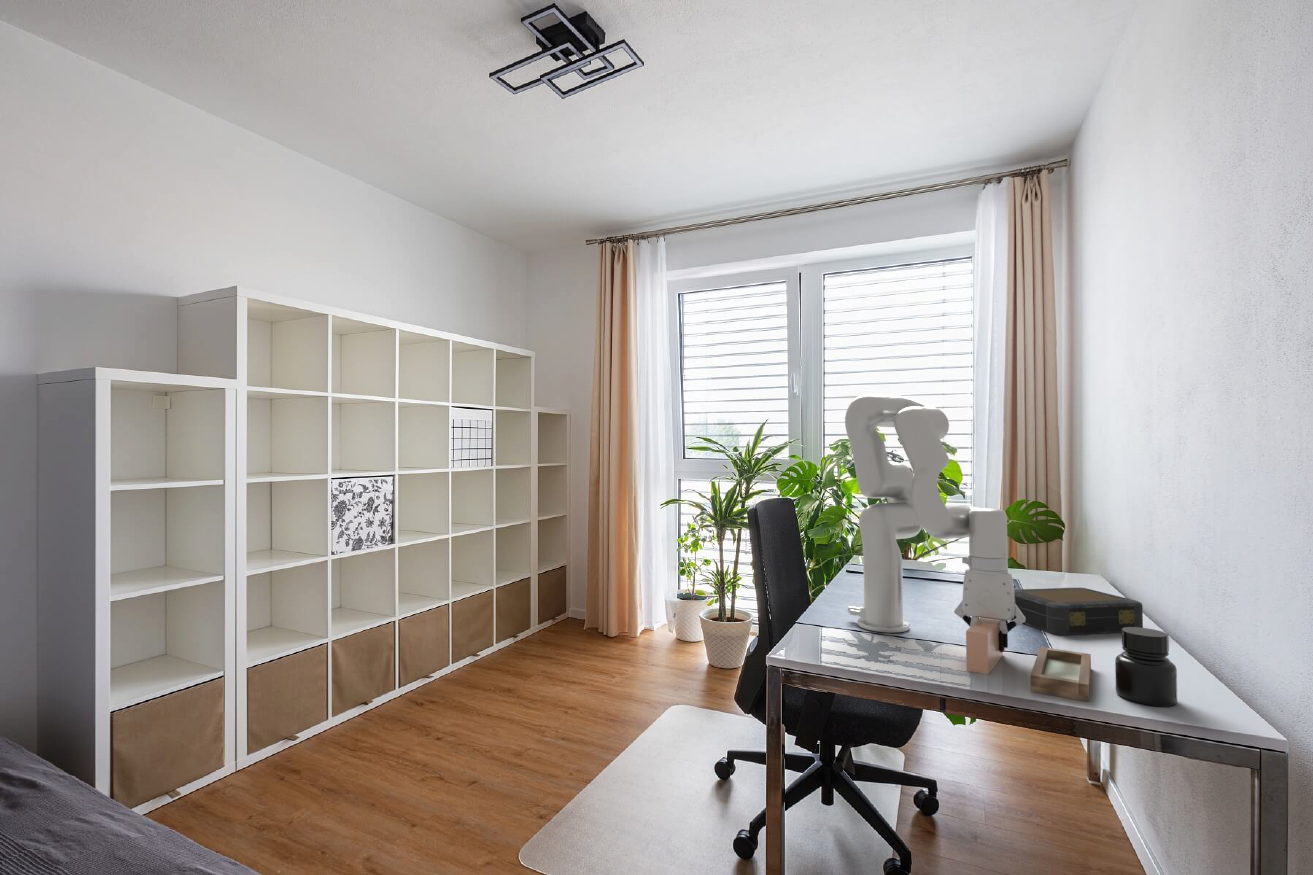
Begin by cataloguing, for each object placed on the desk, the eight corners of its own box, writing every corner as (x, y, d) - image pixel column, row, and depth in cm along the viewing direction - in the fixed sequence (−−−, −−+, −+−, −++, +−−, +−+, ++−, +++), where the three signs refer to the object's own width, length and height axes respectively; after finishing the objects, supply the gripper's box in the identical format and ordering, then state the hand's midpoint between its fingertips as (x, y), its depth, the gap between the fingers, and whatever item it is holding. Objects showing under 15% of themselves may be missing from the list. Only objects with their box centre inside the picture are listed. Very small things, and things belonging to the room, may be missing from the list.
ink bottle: (1192, 706, 114) (1191, 637, 114) (1151, 710, 112) (1150, 640, 112) (1140, 687, 123) (1139, 623, 124) (1102, 690, 121) (1100, 626, 122)
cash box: (1081, 613, 182) (1081, 586, 183) (1146, 633, 162) (1145, 602, 163) (1001, 617, 179) (1000, 588, 179) (1057, 637, 158) (1056, 605, 159)
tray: (1030, 691, 121) (1030, 674, 121) (1040, 660, 139) (1040, 646, 139) (1088, 701, 116) (1088, 684, 116) (1090, 668, 134) (1090, 654, 134)
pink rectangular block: (966, 670, 133) (966, 631, 133) (982, 651, 145) (982, 615, 146) (988, 674, 130) (987, 634, 131) (1002, 655, 143) (1002, 618, 143)
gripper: (943, 563, 144) (945, 646, 144) (1030, 570, 135) (1032, 659, 134) (950, 559, 150) (951, 638, 150) (1033, 565, 141) (1035, 650, 140)
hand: (989, 647), depth 142 cm, fingers closed on pink rectangular block, 4 cm apart
